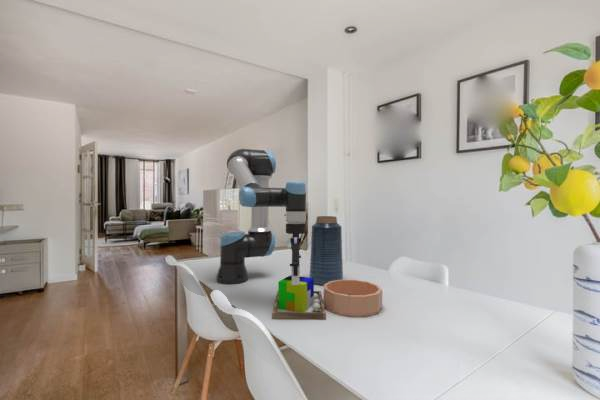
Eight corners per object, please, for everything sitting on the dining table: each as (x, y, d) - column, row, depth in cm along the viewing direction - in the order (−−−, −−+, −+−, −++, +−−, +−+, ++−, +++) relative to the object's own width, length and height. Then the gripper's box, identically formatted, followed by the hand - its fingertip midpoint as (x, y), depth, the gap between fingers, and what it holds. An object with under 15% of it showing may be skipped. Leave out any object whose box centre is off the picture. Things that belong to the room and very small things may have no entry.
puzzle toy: (313, 304, 115) (313, 278, 115) (303, 313, 105) (303, 284, 105) (290, 300, 119) (290, 275, 119) (278, 308, 110) (278, 281, 110)
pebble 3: (312, 309, 108) (312, 301, 108) (320, 309, 108) (320, 301, 108) (312, 313, 106) (312, 304, 105) (320, 313, 105) (320, 304, 105)
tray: (277, 295, 124) (277, 290, 124) (321, 295, 124) (321, 291, 124) (272, 318, 100) (272, 313, 100) (325, 319, 100) (325, 313, 100)
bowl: (322, 296, 124) (322, 279, 124) (373, 296, 124) (373, 279, 124) (326, 316, 102) (326, 296, 102) (388, 317, 102) (388, 296, 102)
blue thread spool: (348, 280, 148) (348, 216, 148) (333, 288, 135) (334, 218, 135) (319, 275, 157) (319, 215, 157) (303, 282, 143) (303, 216, 143)
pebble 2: (312, 301, 114) (313, 296, 112) (320, 302, 114) (321, 297, 112) (311, 308, 111) (312, 303, 110) (319, 309, 111) (321, 304, 110)
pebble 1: (311, 299, 120) (311, 292, 119) (318, 299, 119) (318, 292, 119) (311, 302, 116) (311, 294, 116) (319, 302, 116) (319, 294, 116)
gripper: (287, 220, 124) (287, 271, 124) (283, 225, 99) (283, 289, 99) (305, 220, 124) (305, 271, 124) (306, 225, 99) (306, 289, 99)
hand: (295, 279), depth 112 cm, fingers open, 13 cm apart
